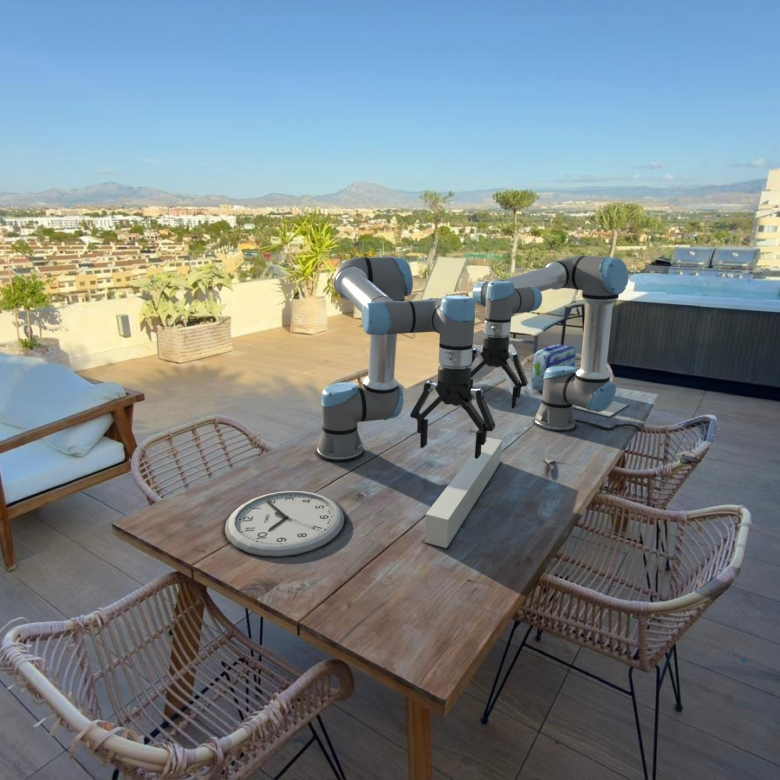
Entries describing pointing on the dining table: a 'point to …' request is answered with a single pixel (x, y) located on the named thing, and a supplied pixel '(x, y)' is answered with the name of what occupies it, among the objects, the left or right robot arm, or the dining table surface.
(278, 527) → the wall clock
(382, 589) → the dining table surface
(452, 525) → the beam
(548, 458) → the fork
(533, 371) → the lunch box
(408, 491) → the dining table surface
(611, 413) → the invitation card
